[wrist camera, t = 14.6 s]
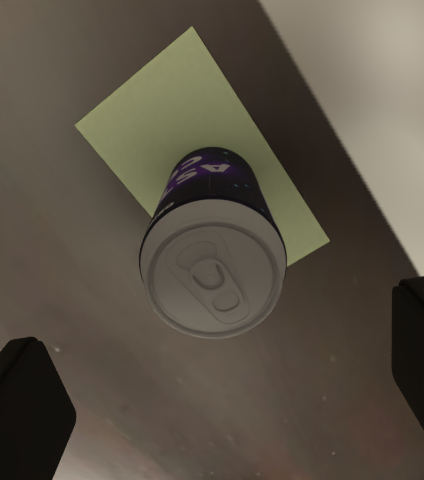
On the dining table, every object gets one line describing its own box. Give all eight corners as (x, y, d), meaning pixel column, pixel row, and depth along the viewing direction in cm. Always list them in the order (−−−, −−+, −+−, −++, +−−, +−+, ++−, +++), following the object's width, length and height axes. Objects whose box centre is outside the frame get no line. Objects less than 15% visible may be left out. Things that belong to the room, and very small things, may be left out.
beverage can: (230, 126, 22) (247, 175, 11) (270, 203, 24) (319, 309, 13) (152, 172, 23) (99, 257, 12) (197, 242, 25) (186, 368, 14)
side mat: (329, 240, 25) (330, 241, 25) (224, 302, 28) (224, 304, 27) (192, 26, 20) (192, 25, 20) (75, 124, 22) (74, 125, 22)
